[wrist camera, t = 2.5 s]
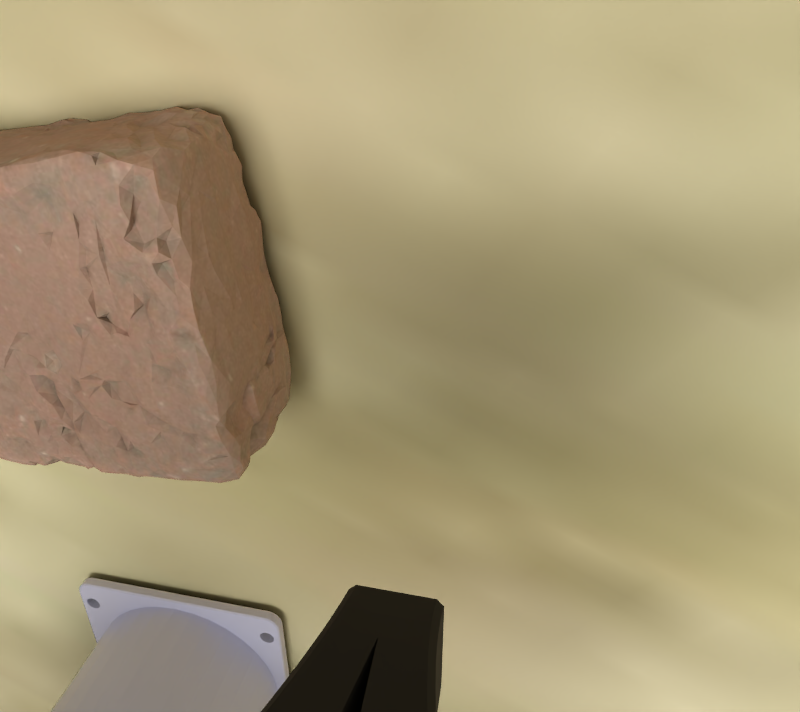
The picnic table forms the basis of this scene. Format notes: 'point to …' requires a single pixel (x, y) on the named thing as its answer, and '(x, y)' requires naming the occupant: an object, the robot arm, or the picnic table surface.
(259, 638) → the robot arm
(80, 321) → the brown faceted rock
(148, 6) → the picnic table surface
